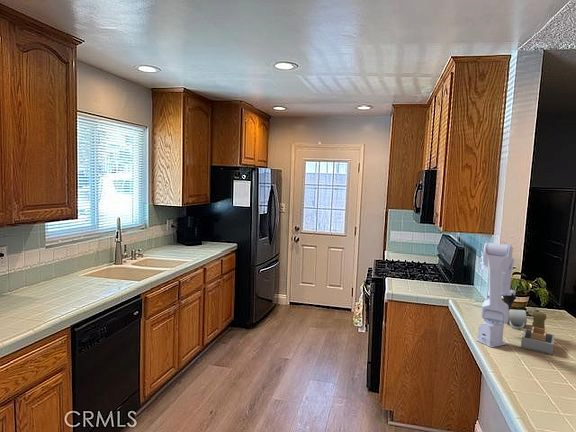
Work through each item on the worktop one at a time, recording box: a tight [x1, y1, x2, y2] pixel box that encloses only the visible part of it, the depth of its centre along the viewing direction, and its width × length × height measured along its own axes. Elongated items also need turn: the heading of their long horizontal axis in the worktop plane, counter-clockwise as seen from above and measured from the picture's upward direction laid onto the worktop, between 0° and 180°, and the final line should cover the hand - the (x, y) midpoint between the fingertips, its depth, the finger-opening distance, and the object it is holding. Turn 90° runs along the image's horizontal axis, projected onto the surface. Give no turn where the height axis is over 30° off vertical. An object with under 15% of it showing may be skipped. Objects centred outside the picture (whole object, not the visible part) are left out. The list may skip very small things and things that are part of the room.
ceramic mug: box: [506, 308, 528, 331], centre depth 196 cm, size 11×8×8 cm
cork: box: [530, 311, 547, 330], centre depth 183 cm, size 6×6×11 cm
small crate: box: [530, 326, 547, 342], centre depth 171 cm, size 9×5×6 cm, turn 146°
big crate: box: [520, 328, 555, 356], centre depth 172 cm, size 13×11×4 cm
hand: (500, 311), depth 187 cm, fingers open, 7 cm apart
